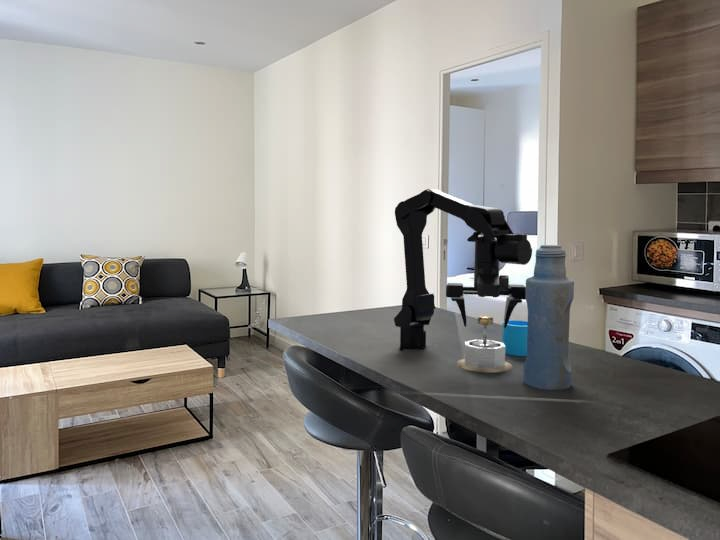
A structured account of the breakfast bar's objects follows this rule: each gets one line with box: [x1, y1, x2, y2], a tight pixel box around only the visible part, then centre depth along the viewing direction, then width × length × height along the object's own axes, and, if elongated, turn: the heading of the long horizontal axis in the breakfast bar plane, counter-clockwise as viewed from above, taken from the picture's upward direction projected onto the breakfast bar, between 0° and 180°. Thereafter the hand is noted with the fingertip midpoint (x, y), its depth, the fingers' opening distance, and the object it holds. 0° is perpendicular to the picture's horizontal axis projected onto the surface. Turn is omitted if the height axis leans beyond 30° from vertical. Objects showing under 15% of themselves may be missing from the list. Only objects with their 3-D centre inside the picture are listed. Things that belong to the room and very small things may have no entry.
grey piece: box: [463, 338, 506, 370], centre depth 136 cm, size 9×12×5 cm
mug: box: [501, 319, 528, 357], centre depth 149 cm, size 12×8×8 cm
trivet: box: [456, 358, 513, 373], centre depth 134 cm, size 13×13×1 cm
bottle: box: [522, 244, 575, 391], centre depth 119 cm, size 10×10×30 cm
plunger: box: [472, 315, 498, 348], centre depth 134 cm, size 6×6×7 cm
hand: (484, 327), depth 134 cm, fingers open, 9 cm apart
